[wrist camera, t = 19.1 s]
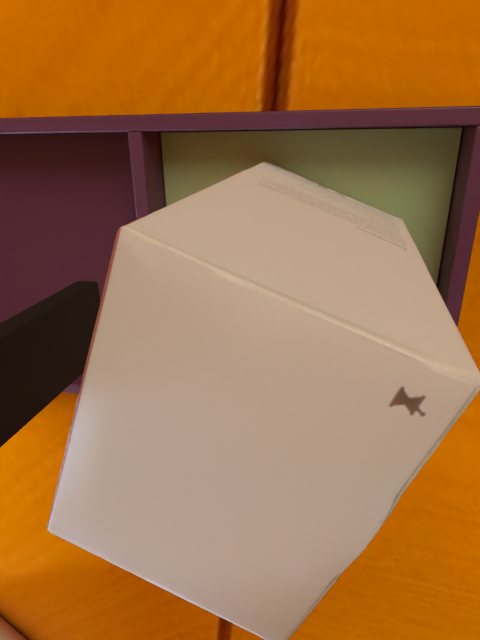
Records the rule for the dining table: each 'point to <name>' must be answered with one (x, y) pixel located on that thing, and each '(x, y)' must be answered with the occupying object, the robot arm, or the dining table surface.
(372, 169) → the purple divided tray
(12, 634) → the wooden puzzle
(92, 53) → the dining table surface
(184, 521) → the small box
